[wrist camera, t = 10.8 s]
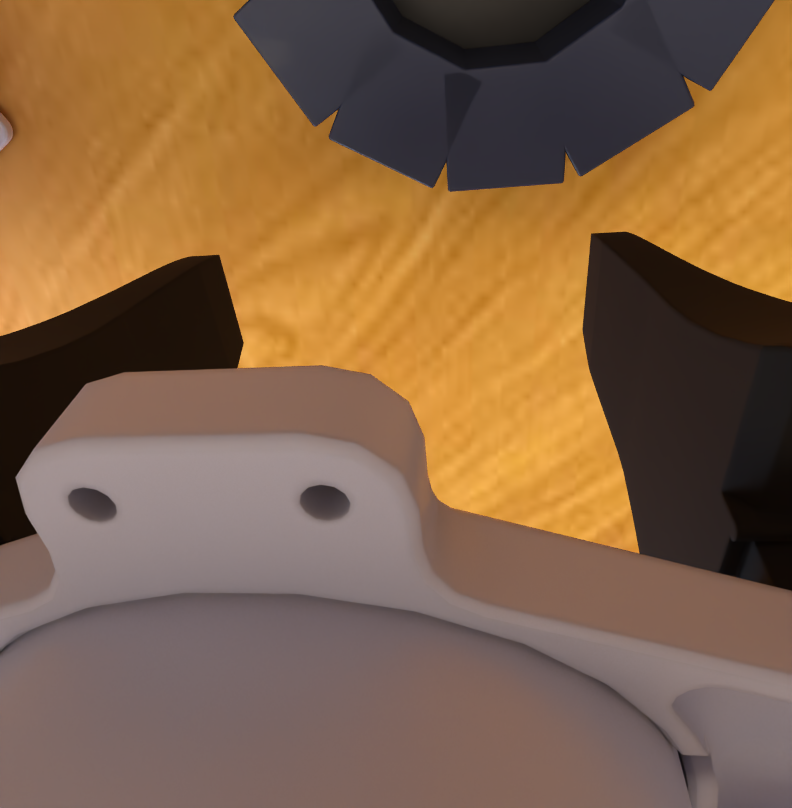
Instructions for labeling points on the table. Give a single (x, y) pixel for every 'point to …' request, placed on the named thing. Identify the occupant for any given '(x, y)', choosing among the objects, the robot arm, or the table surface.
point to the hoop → (496, 82)
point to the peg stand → (488, 19)
